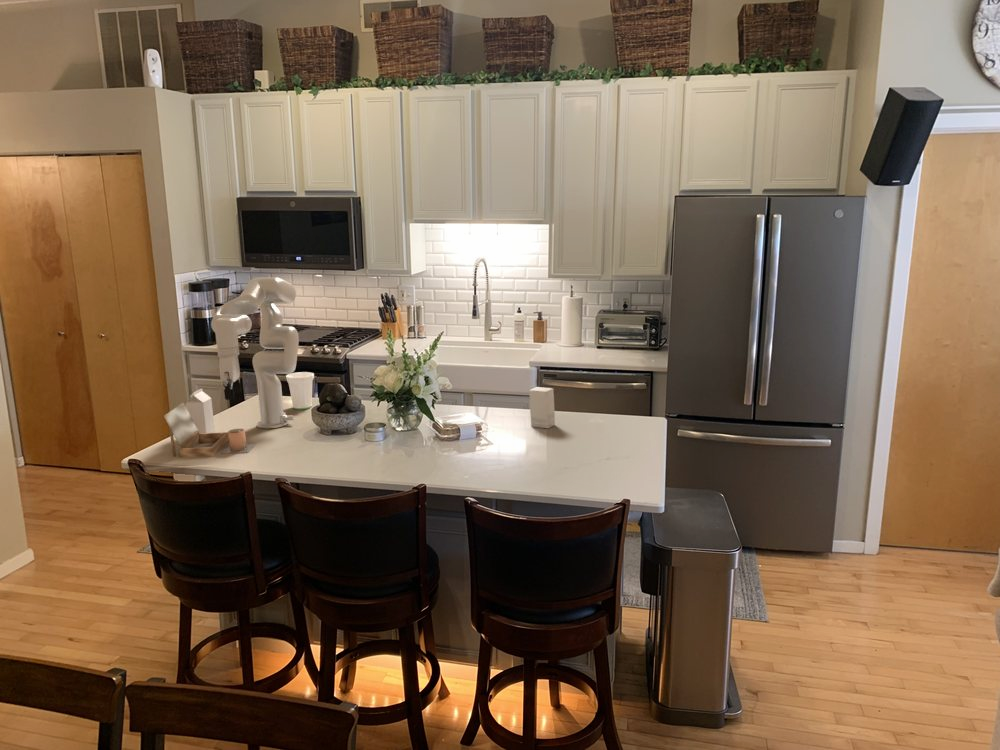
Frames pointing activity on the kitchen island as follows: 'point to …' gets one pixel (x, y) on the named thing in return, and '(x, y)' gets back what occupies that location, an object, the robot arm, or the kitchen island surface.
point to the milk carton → (201, 411)
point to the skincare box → (542, 407)
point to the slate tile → (247, 450)
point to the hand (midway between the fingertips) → (233, 395)
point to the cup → (301, 389)
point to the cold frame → (192, 435)
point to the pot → (237, 439)
